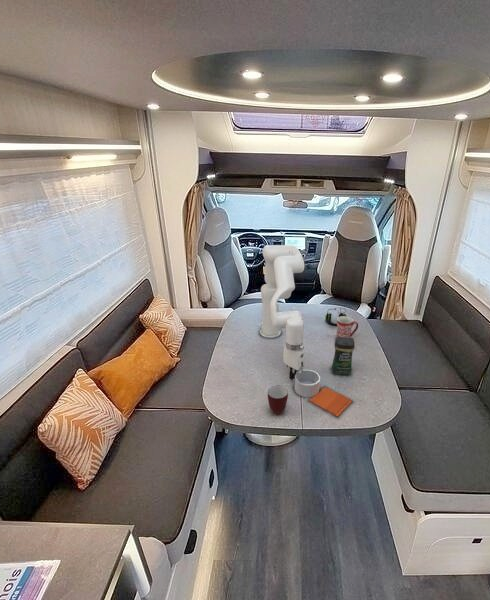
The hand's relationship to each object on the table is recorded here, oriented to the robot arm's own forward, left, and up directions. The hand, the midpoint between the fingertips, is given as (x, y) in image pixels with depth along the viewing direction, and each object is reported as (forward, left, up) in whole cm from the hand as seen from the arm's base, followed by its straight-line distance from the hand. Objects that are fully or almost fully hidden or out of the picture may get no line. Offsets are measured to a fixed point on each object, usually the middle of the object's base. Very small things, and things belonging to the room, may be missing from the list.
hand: (292, 378), depth 146 cm
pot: (+8, 0, -2) cm, 9 cm away
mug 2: (-1, +51, -2) cm, 51 cm away
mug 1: (+7, -18, -2) cm, 20 cm away
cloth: (+21, +1, -2) cm, 21 cm away
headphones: (-17, +67, -2) cm, 69 cm away
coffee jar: (+13, +23, -2) cm, 26 cm away
